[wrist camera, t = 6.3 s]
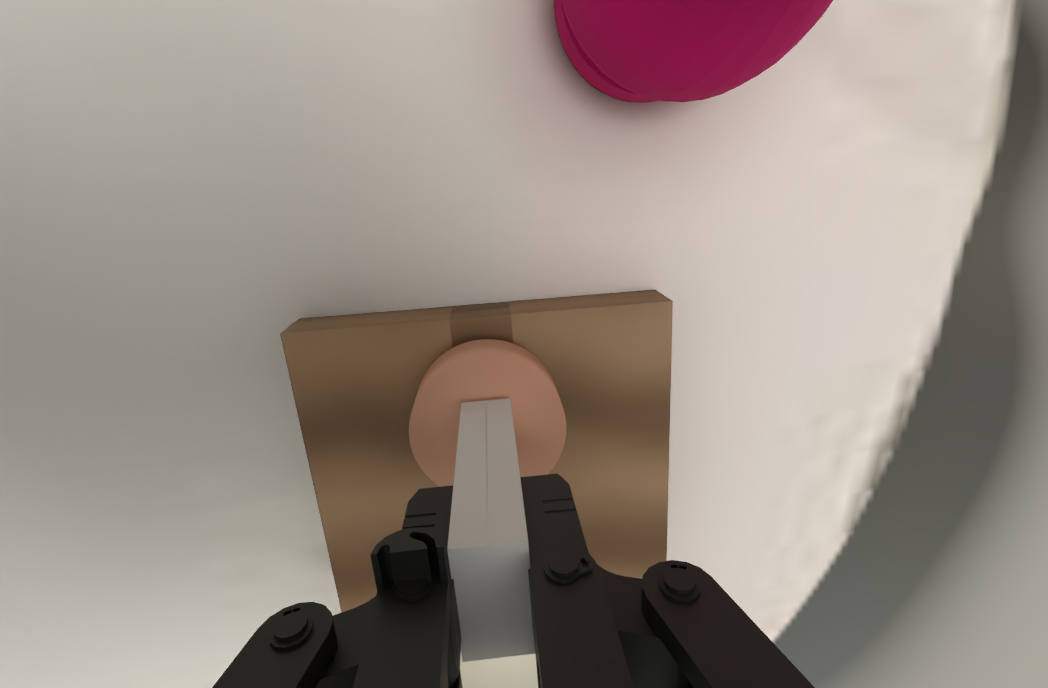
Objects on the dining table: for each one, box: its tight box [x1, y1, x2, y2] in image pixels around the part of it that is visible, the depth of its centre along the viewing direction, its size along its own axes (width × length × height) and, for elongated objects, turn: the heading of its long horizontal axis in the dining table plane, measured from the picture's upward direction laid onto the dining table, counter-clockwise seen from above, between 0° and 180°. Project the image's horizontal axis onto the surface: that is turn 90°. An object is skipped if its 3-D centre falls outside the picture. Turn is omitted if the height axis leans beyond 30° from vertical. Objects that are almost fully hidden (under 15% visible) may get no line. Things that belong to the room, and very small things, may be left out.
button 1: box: [409, 339, 566, 487], centre depth 18 cm, size 5×5×4 cm
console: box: [280, 290, 673, 612], centre depth 22 cm, size 20×14×2 cm
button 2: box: [460, 654, 538, 688], centre depth 19 cm, size 5×5×4 cm
